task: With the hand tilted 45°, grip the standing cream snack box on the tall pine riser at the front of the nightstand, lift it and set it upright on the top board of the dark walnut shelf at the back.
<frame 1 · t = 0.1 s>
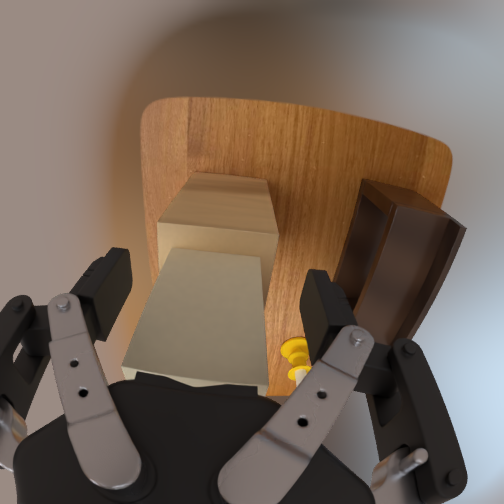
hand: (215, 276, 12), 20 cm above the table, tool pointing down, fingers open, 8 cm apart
snack box: (213, 279, 20), point 14 cm above the table, touching riser
shelf: (370, 249, 35), on the table
candle: (296, 346, 44), on the table
riser: (226, 208, 32), on the table
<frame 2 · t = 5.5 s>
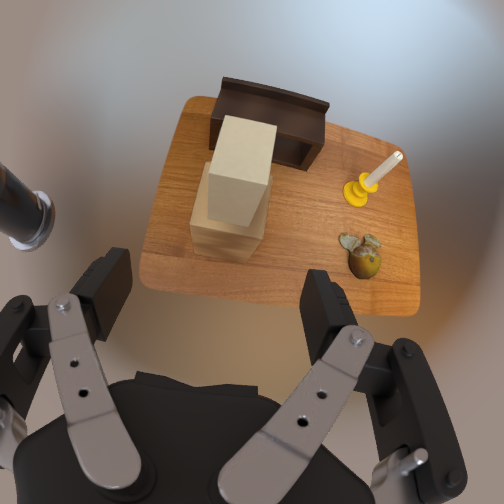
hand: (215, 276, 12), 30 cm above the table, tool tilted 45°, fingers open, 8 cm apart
fruit: (361, 252, 48), on the table
snack box: (233, 198, 31), point 14 cm above the table, touching riser
shelf: (261, 142, 49), on the table
candle: (354, 195, 50), on the table
riser: (224, 234, 44), on the table
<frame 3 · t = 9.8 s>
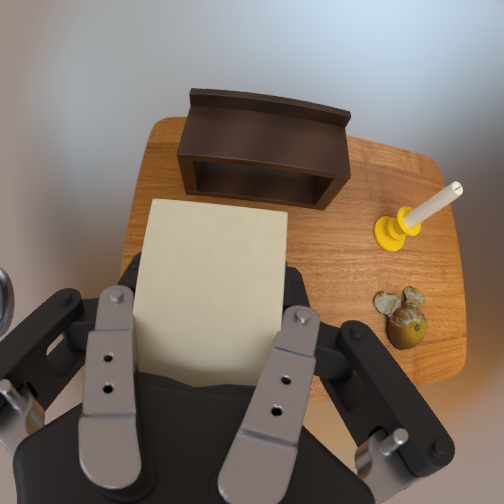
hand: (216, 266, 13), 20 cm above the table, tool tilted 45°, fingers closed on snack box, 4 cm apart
fruit: (401, 313, 34), on the table
snack box: (216, 313, 18), point 14 cm above the table, touching gripper, riser
shelf: (258, 174, 37), on the table
candle: (388, 234, 37), on the table
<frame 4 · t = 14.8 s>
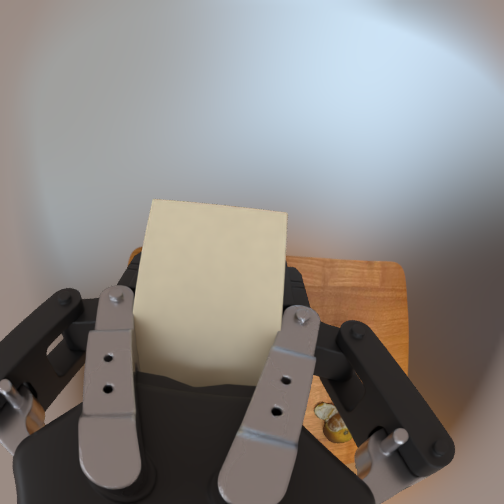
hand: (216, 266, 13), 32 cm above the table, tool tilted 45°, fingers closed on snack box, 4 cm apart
fruit: (339, 415, 40), on the table
snack box: (216, 314, 18), point 26 cm above the table, touching gripper
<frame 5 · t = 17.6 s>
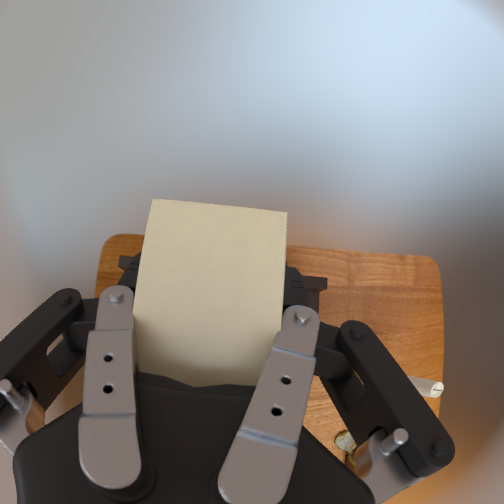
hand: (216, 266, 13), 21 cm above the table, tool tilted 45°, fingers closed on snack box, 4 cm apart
fruit: (364, 444, 30), on the table
snack box: (216, 313, 18), point 15 cm above the table, touching gripper
shelf: (219, 319, 32), on the table
candle: (362, 372, 32), on the table
when the fingers open (15 cm above the table, at t = 19.8 s): snack box stays where it is, resting on shelf.
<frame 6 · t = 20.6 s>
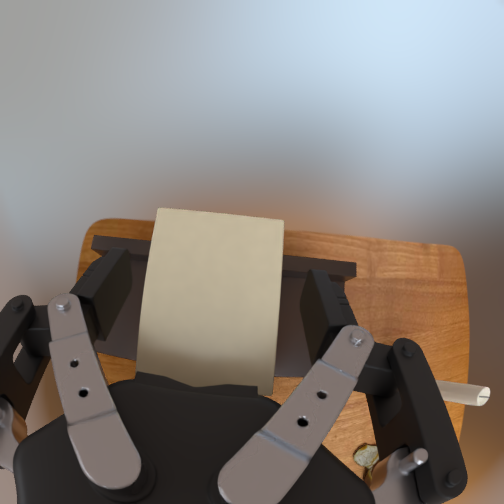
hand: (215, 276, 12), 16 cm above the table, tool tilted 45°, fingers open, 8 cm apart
fruit: (384, 457, 24), on the table
snack box: (217, 314, 18), point 9 cm above the table, touching shelf
shelf: (219, 318, 27), on the table
candle: (385, 378, 27), on the table
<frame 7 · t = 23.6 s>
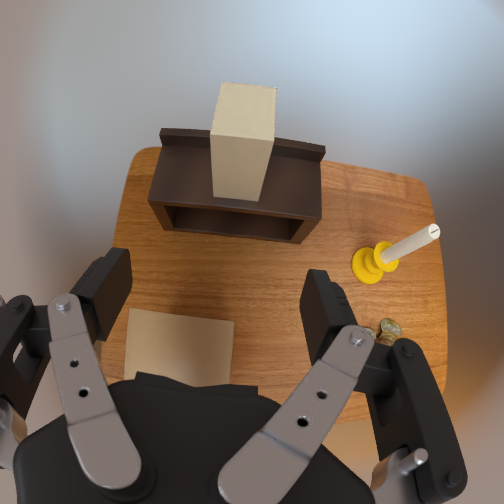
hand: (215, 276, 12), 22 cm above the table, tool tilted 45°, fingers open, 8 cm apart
fruit: (377, 345, 34), on the table
snack box: (238, 174, 29), point 9 cm above the table, touching shelf
shelf: (234, 208, 37), on the table
candle: (366, 266, 37), on the table
riser: (195, 352, 32), on the table
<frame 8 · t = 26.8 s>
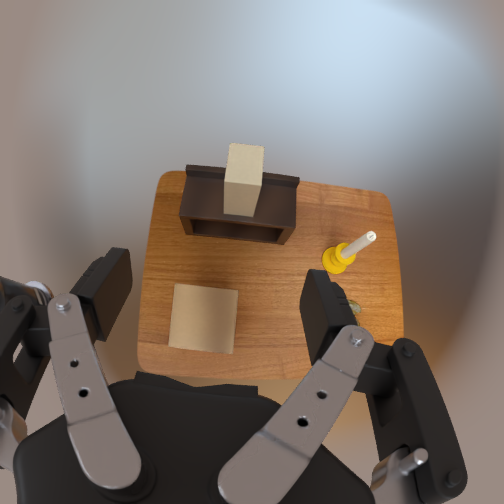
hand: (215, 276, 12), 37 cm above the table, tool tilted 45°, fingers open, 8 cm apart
snack box: (240, 197, 44), point 9 cm above the table, touching shelf
shelf: (236, 219, 52), on the table
candle: (333, 261, 52), on the table
riser: (209, 321, 47), on the table
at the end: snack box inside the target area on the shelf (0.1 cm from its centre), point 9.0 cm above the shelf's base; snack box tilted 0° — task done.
